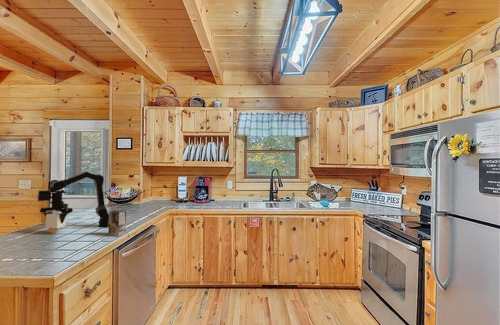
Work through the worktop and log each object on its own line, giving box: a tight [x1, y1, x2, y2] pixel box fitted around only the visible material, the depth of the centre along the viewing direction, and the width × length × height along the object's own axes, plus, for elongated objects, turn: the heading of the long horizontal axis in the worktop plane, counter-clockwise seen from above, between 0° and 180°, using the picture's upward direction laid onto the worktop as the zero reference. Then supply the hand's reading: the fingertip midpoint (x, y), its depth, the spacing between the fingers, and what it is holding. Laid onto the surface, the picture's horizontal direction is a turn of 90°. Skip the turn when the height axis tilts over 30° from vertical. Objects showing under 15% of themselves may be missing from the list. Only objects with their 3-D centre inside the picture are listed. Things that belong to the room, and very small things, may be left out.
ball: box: [48, 228, 59, 234], centre depth 178 cm, size 5×5×5 cm
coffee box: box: [107, 209, 127, 237], centre depth 180 cm, size 9×6×16 cm
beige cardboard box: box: [45, 211, 67, 229], centre depth 179 cm, size 8×8×9 cm
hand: (56, 222), depth 179 cm, fingers closed on beige cardboard box, 8 cm apart
